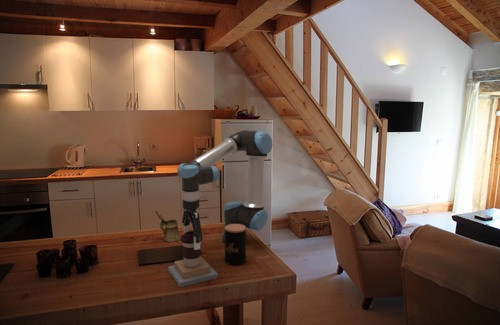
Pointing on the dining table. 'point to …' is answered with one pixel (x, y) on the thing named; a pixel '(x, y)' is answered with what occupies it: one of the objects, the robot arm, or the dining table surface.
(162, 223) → the brass coffee pot
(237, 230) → the coffee jar
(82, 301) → the dining table surface
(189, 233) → the coffee cup
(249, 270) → the dining table surface
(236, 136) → the robot arm
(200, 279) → the base
